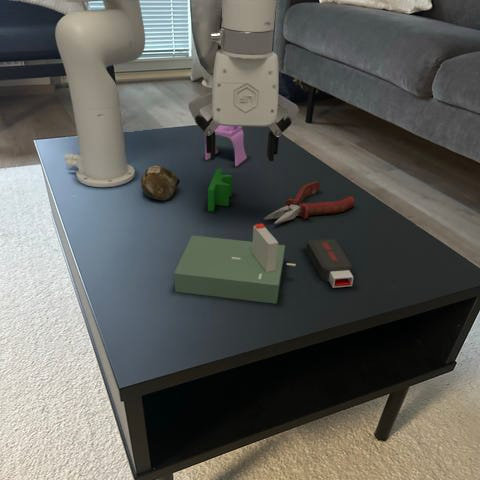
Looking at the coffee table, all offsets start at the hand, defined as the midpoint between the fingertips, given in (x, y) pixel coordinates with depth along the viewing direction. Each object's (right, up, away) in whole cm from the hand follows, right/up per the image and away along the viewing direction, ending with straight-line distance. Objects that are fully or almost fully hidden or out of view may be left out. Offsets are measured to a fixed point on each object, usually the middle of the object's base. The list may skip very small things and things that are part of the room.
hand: (241, 157), depth 83 cm
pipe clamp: (-4, -2, +21) cm, 22 cm away
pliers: (+12, -4, +19) cm, 24 cm away
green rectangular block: (-1, -20, -1) cm, 20 cm away
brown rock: (-17, -1, +22) cm, 28 cm away
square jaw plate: (+4, -18, -4) cm, 19 cm away
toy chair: (-4, +12, +39) cm, 41 cm away
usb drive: (+15, -18, +2) cm, 24 cm away
